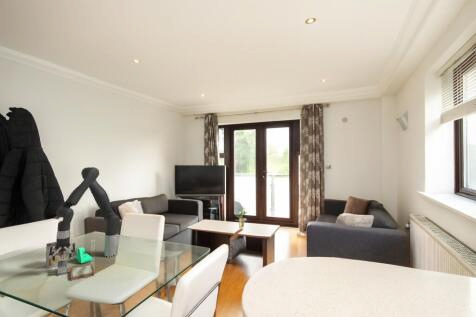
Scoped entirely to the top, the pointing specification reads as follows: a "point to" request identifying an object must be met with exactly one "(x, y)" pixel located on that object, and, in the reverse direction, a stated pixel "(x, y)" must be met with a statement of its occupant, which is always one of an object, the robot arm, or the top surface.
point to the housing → (62, 267)
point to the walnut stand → (81, 272)
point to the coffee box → (58, 256)
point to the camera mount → (82, 256)
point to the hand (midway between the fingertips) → (61, 259)
